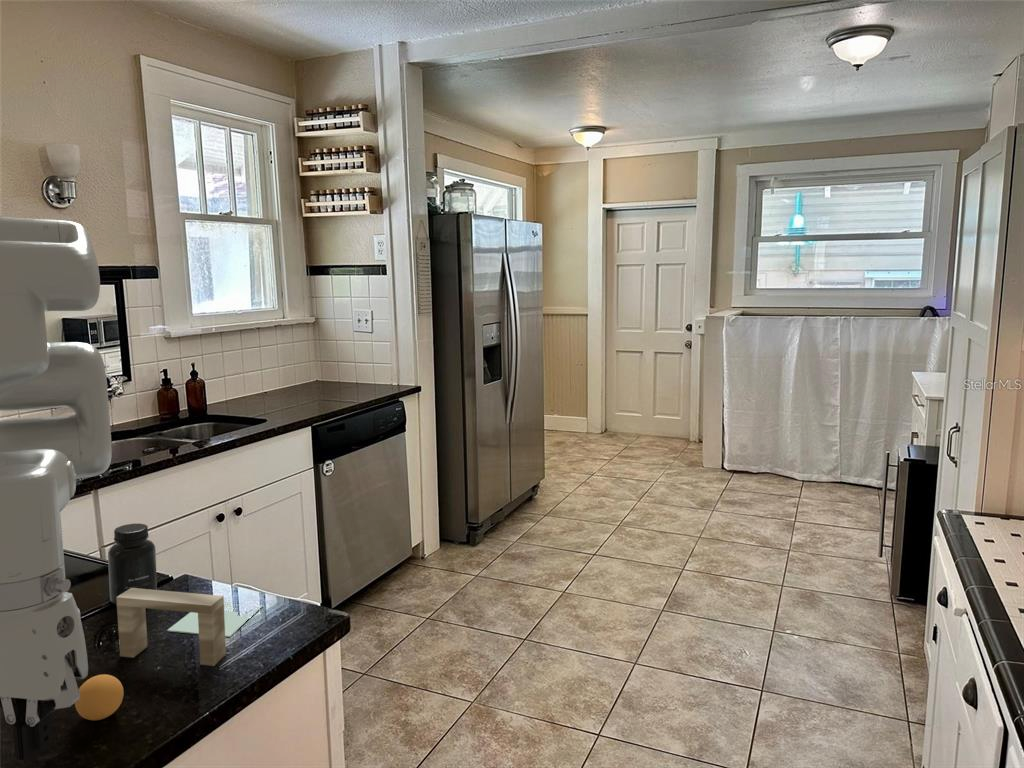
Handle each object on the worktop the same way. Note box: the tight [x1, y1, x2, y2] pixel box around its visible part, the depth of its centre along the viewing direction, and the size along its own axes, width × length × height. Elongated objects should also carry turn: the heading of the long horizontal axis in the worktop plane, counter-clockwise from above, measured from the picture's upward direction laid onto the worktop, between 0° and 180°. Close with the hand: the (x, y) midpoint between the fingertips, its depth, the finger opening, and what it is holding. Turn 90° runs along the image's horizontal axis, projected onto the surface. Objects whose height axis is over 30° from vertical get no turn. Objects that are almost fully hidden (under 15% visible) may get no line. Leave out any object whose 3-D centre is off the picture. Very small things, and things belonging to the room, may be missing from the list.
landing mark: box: [166, 601, 264, 638], centre depth 108 cm, size 10×10×1 cm
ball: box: [74, 674, 125, 721], centre depth 83 cm, size 5×5×5 cm
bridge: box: [116, 588, 227, 667], centre depth 97 cm, size 3×14×9 cm, turn 82°
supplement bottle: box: [107, 523, 158, 606], centre depth 113 cm, size 7×7×12 cm
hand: (34, 752), depth 74 cm, fingers closed
